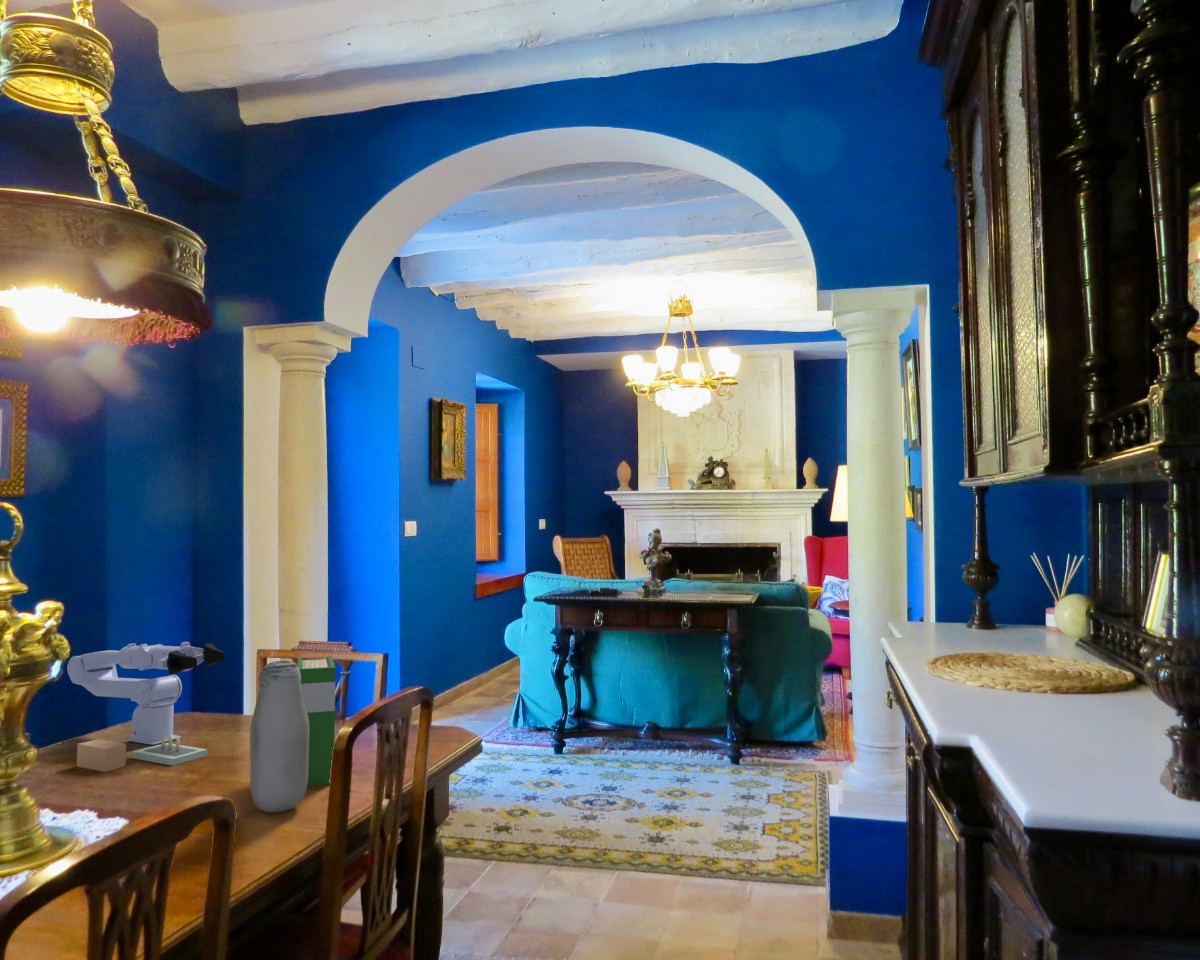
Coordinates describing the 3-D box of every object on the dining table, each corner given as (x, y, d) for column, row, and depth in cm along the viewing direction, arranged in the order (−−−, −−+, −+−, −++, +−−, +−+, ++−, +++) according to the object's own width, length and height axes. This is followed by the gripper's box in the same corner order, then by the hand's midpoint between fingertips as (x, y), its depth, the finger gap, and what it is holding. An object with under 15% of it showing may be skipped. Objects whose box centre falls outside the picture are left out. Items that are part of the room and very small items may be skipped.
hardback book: (295, 764, 192) (297, 657, 193) (330, 761, 195) (331, 655, 196) (296, 787, 176) (298, 669, 177) (333, 783, 178) (335, 667, 179)
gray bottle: (276, 799, 167) (279, 655, 169) (318, 805, 164) (320, 658, 165) (237, 815, 158) (240, 663, 160) (280, 822, 154) (283, 666, 156)
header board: (132, 758, 198) (132, 738, 198) (167, 749, 206) (167, 730, 206) (172, 765, 191) (173, 745, 192) (207, 756, 199) (207, 736, 200)
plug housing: (76, 766, 191) (77, 743, 191) (97, 761, 195) (98, 739, 195) (104, 771, 186) (105, 748, 187) (125, 766, 191) (125, 743, 191)
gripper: (145, 647, 206) (181, 648, 200) (198, 636, 219) (234, 637, 213) (146, 676, 206) (183, 678, 200) (199, 664, 219) (235, 666, 212)
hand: (209, 659), depth 206 cm, fingers open, 7 cm apart
